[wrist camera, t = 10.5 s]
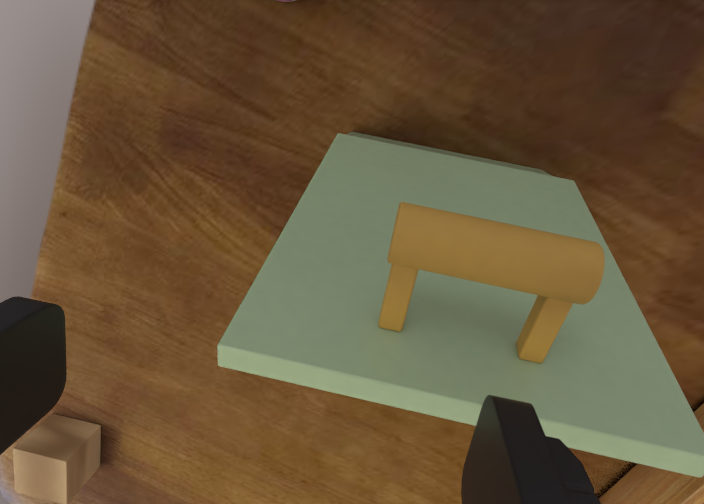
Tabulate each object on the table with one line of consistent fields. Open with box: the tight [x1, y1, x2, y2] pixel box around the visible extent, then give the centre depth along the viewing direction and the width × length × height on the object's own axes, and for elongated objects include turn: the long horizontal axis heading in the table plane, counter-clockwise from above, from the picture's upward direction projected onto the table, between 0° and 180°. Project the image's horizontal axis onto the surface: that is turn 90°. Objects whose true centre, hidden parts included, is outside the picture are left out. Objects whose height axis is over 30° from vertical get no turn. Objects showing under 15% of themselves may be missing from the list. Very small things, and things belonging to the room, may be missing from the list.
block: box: [13, 414, 101, 504], centre depth 41 cm, size 4×4×4 cm
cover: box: [218, 133, 704, 478], centre depth 18 cm, size 16×13×5 cm
